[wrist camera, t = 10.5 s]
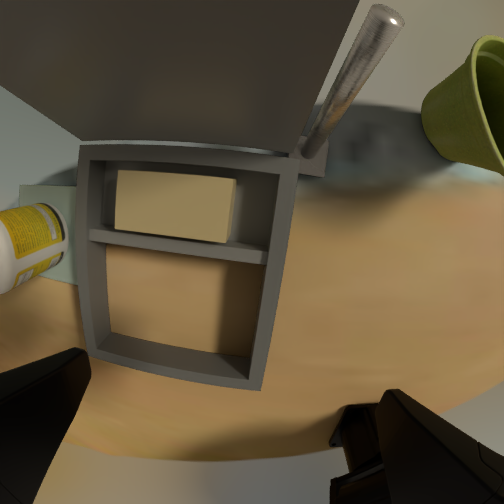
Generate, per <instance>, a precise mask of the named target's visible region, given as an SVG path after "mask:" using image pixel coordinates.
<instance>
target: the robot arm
mask: <svg viewBox="0 0 504 504" xmlns="http://www.w3.org/2000/svg"><path fill="white" fill-rule="evenodd" d="M90 379H91V367H90V362H89V357H88V353H87V352H86V351H85V350H83V349H80V348H77V347H74V348H71V349H68V350H65V351H62V352H60V353H57V354H54V355H51V356H49V357H46V358H43V359H40V360H37V361H35V362H32V363H29V364H26V365H23V366H20V367H17V368H14V369H11V370H9V371H6V372H3V373H0V504H33V502H34V499H35V497H36V495H37V492H38V490H39V488H40V486H41V483H42V481H43V479H44V477H45V475H46V473H47V470H48V468H49V466H50V464H51V462H52V460H53V458H54V456H55V454H56V452H57V450H58V448H59V446H60V444H61V442H62V440H63V438H64V436H65V434H66V432H67V430H68V428H69V426H70V425H71V423H72V421H73V419H74V417H75V415H76V413H77V410H78V408H79V405H80V403H81V400H82V398H83V395H84V393H85V391H86V388H87V386H88V384H89V381H90ZM329 446H330V447H343V449H344V453H345V457H346V461H347V465H348V469H349V473H348V474H345V475H343V476H340V477H338V478H337V477H336V478H333V479H331V486H330V504H504V456H502V455H500V454H498V453H496V452H494V451H492V450H491V449H489V448H488V447H486V446H484V445H483V444H481V443H480V442H477V441H476V440H475V439H473V438H472V437H470V436H469V435H467V434H466V433H464V432H462V431H461V430H459V429H458V428H456V427H455V426H453V425H452V424H450V423H449V422H447V421H446V420H444V419H443V418H441V417H440V416H438V415H437V414H435V413H434V412H432V411H431V410H429V409H428V408H426V407H425V406H423V405H422V404H420V403H419V402H417V401H416V400H414V399H413V398H411V397H410V396H408V395H407V394H405V393H404V392H403V391H401V390H400V389H388V390H386V391H385V392H384V394H383V396H382V398H381V400H380V402H379V404H366V405H350V406H348V407H346V409H345V411H344V413H343V415H342V417H341V419H340V421H339V423H338V425H337V427H336V429H335V431H334V433H333V435H332V437H331V439H330V441H329Z"/></svg>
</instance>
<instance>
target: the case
mask: <svg viewBox="0 0 504 504" xmlns="http://www.w3.org/2000/svg"><path fill="white" fill-rule="evenodd" d="M299 165H300V160H299V159H293V158H286V157H280V156H273V155H266V154H258V153H250V152H241V151H232V150H222V149H211V148H199V147H185V146H166V145H133V144H104V145H80V150H79V159H78V170H77V184H76V206H75V244H76V266H77V280H78V291H79V300H80V309H81V316H82V323H83V330H84V336H85V342H86V347H87V352H88V356H91V357H94V358H97V359H101V360H104V361H107V362H111V363H114V364H118V365H121V366H125V367H129V368H132V369H136V370H140V371H144V372H148V373H153V374H157V375H162V376H166V377H171V378H176V379H181V380H186V381H191V382H197V383H203V384H209V385H216V386H222V387H229V388H237V389H246V390H255V391H261V386H262V381H263V377H264V372H265V367H266V362H267V357H268V352H269V347H270V341H271V336H272V331H273V326H274V320H275V315H276V309H277V304H278V298H279V293H280V287H281V281H282V276H283V270H284V264H285V258H286V252H287V246H288V239H289V233H290V227H291V220H292V214H293V207H294V200H295V193H296V187H297V179H298V172H299ZM106 243H111V244H118V245H125V246H132V247H139V248H146V249H153V250H160V251H167V252H174V253H181V254H188V255H196V256H203V257H210V258H218V259H225V260H232V261H240V262H247V263H255V264H263V265H264V270H263V277H262V284H261V290H260V297H259V303H258V310H257V316H256V323H255V329H254V335H253V342H252V348H251V354H250V358H246V357H238V356H230V355H223V354H216V353H210V352H204V351H198V350H192V349H186V348H181V347H175V346H170V345H165V344H160V343H155V342H151V341H146V340H142V339H137V338H133V337H129V336H125V335H121V334H117V333H113V332H111V328H110V318H109V307H108V294H107V274H106Z"/></svg>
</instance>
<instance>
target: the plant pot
mask: <svg viewBox="0 0 504 504" xmlns="http://www.w3.org/2000/svg"><path fill="white" fill-rule="evenodd" d="M421 118H422V124H423V128H424V131H425V134H426V136H427V138H428V139H429V141H430V142H431V143H432V144H433V145H434V147H435V148H436V149H437V151H438V152H439V154H440V155H442V156H443V157H444V158H446V159H448V160H451V161H455V162H460V163H464V164H469V165H473V166H477V167H480V168H484V169H487V170H491V171H494V172H497V173H500V174H501V175H502V176H504V39H503V38H500V37H497V36H493V35H485V36H483V37H481V38H480V39H478V40H477V41H476V42H475V43H474V45H473V47H472V49H471V52H470V54H469V55H468V57H467V59H466V60H465V63H464V64H463V65H461V66H460V67H459V68H458V69H457V70H455V71H454V72H453V73H452V74H451V75H450V76H448V77H447V78H446V79H445V80H443V81H442V82H441V83H439V84H438V85H437V86H436V87H434V88H433V89H432V90H430V92H429V93H428V94H427V95H426V97H425V98H424V100H423V103H422V108H421Z"/></svg>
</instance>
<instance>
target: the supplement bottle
mask: <svg viewBox="0 0 504 504" xmlns="http://www.w3.org/2000/svg"><path fill="white" fill-rule="evenodd" d="M68 244H69V234H68V228H67V224H66V221H65V219H64V217H63V215H62V214H61V212H60V211H59V210H58V209H57V208H56V207H55V206H54V205H52V204H49V203H36V204H31V205H27V206H22V207H18V208H14V209H9V210H5V211H1V212H0V294H3V293H6V292H8V291H10V290H11V289H13V288H15V287H17V286H18V285H20V284H22V283H24V282H26V281H27V280H29V279H31V278H33V277H35V276H37V275H38V274H40V273H42V272H44V271H46V270H48V269H50V268H52V267H54V266H56V265H57V264H59V263H60V262H61V261H62V260H63V259H64V257H65V255H66V253H67V250H68Z"/></svg>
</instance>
